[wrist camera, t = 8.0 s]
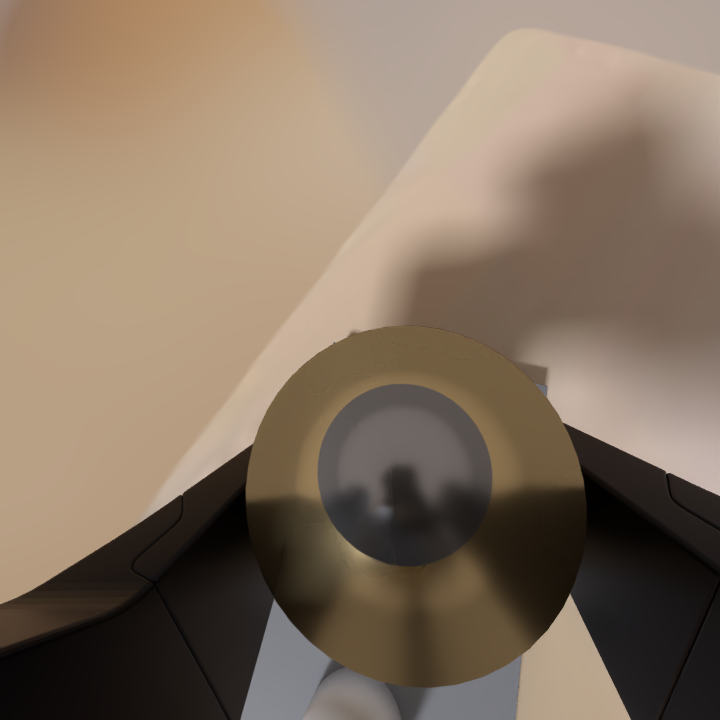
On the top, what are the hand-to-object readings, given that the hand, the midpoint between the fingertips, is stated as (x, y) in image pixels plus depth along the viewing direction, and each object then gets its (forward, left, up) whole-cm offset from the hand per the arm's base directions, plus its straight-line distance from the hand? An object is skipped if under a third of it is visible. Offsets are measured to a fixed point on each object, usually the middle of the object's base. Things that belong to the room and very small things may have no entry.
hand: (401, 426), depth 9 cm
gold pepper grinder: (-1, 0, -7) cm, 7 cm away
